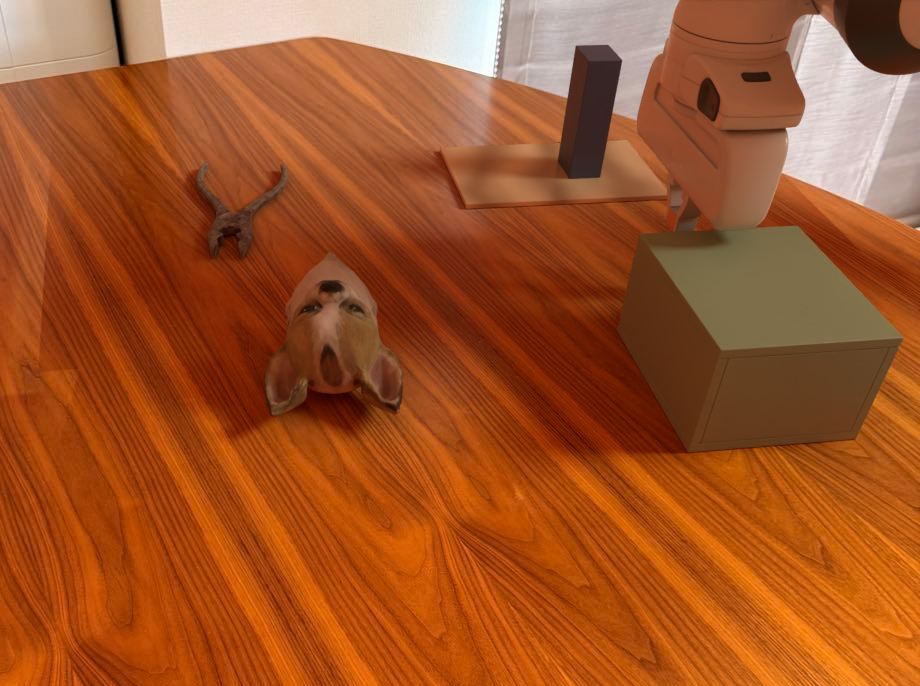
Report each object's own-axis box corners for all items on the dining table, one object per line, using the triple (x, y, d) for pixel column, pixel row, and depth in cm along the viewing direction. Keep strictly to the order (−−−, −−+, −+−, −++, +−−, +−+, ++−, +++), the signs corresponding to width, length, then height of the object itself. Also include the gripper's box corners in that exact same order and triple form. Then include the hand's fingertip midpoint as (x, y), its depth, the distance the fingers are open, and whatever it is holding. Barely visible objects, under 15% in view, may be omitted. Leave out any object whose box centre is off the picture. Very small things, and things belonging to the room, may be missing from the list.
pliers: (283, 155, 105) (312, 244, 92) (283, 163, 106) (312, 252, 92) (192, 161, 104) (209, 252, 90) (193, 169, 104) (210, 261, 91)
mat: (626, 144, 112) (627, 139, 112) (670, 199, 102) (671, 194, 102) (439, 151, 110) (440, 147, 109) (466, 208, 100) (466, 204, 99)
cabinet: (616, 330, 84) (638, 233, 78) (763, 321, 86) (797, 225, 79) (687, 453, 73) (720, 349, 66) (856, 439, 74) (904, 337, 68)
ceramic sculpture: (396, 232, 77) (410, 348, 67) (393, 323, 84) (405, 441, 74) (262, 234, 77) (255, 351, 67) (269, 325, 83) (264, 444, 73)
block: (587, 159, 108) (608, 44, 99) (600, 177, 105) (622, 60, 96) (557, 161, 107) (575, 45, 99) (569, 179, 104) (588, 60, 96)
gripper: (638, 21, 83) (607, 178, 93) (734, 117, 69) (686, 290, 78) (708, 19, 84) (670, 176, 93) (817, 114, 69) (759, 286, 79)
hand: (678, 229), depth 86 cm, fingers closed
